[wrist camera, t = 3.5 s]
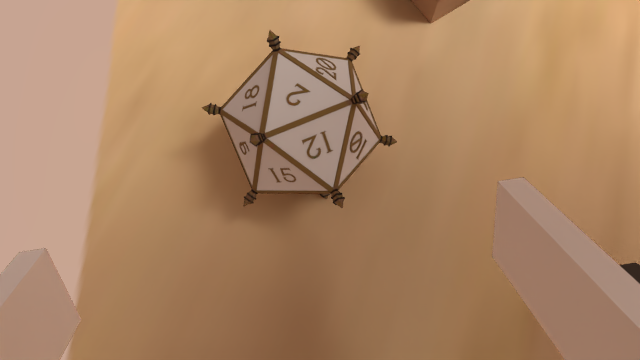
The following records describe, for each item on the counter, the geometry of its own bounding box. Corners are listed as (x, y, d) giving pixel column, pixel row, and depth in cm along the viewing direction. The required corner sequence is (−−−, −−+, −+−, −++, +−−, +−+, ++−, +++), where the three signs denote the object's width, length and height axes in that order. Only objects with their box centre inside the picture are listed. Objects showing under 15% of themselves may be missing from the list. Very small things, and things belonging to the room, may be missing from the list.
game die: (287, 153, 30) (232, 7, 24) (413, 149, 27) (384, -22, 21) (229, 254, 24) (136, 89, 18) (384, 265, 21) (331, 67, 15)
